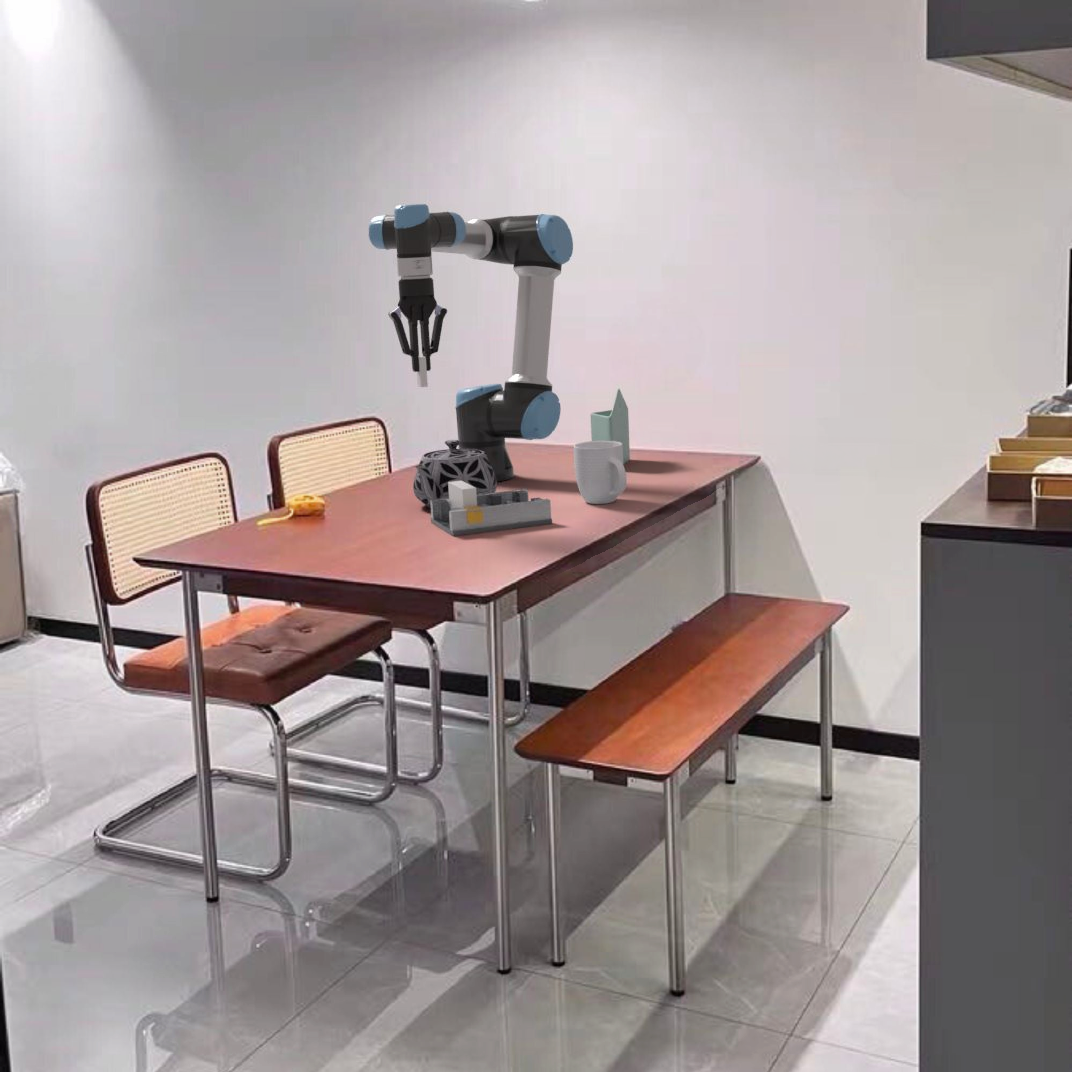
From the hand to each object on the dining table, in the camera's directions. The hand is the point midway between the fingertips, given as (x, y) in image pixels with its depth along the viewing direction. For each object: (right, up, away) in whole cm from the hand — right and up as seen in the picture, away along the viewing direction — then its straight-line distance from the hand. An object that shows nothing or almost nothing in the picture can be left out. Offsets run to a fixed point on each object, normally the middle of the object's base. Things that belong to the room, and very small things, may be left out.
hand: (422, 386), depth 324 cm
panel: (+10, -30, -10) cm, 33 cm away
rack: (+15, -30, -8) cm, 35 cm away
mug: (+40, -25, +9) cm, 48 cm away
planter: (+43, -15, +55) cm, 72 cm away
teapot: (+6, -26, +13) cm, 30 cm away
